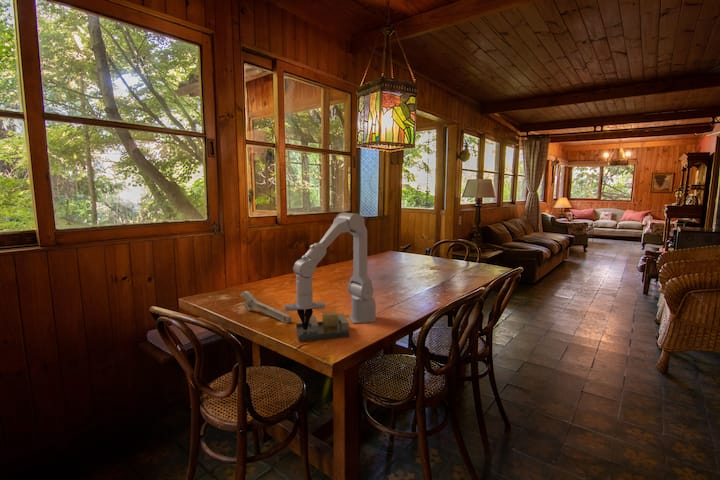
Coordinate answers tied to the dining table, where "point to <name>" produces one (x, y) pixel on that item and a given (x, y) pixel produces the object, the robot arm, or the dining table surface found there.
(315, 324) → the bar
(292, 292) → the dining table surface
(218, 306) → the dining table surface
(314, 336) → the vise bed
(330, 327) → the brass block
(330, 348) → the dining table surface
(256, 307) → the wrench
